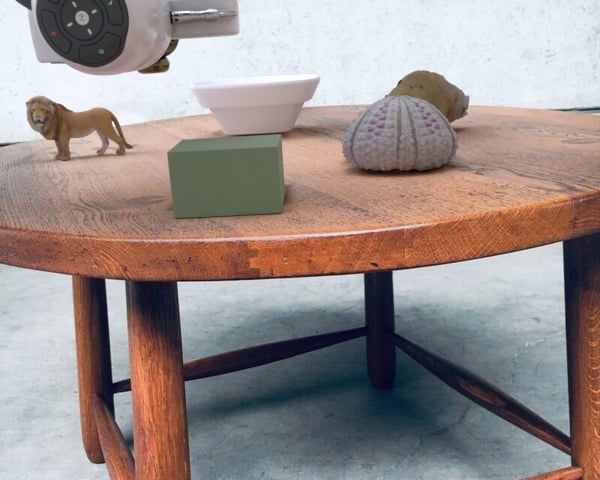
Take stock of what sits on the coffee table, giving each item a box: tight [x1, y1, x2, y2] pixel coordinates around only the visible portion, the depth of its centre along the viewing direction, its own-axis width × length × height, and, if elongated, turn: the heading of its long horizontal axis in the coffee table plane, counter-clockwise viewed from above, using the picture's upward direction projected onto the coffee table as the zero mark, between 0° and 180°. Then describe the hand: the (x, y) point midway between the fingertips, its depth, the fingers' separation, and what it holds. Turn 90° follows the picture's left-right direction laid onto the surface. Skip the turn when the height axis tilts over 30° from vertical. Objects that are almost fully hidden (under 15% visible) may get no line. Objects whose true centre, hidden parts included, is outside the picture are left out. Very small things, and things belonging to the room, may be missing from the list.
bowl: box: [189, 73, 321, 136], centre depth 144 cm, size 21×21×9 cm
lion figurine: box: [25, 95, 134, 161], centre depth 130 cm, size 15×5×9 cm, turn 117°
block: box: [166, 133, 286, 219], centre depth 87 cm, size 10×10×6 cm
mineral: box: [378, 69, 470, 124], centre depth 129 cm, size 26×9×10 cm
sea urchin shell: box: [340, 95, 460, 172], centre depth 103 cm, size 13×14×8 cm
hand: (148, 22), depth 96 cm, fingers closed on cup, 7 cm apart
